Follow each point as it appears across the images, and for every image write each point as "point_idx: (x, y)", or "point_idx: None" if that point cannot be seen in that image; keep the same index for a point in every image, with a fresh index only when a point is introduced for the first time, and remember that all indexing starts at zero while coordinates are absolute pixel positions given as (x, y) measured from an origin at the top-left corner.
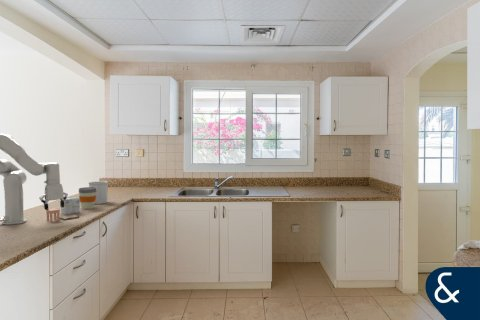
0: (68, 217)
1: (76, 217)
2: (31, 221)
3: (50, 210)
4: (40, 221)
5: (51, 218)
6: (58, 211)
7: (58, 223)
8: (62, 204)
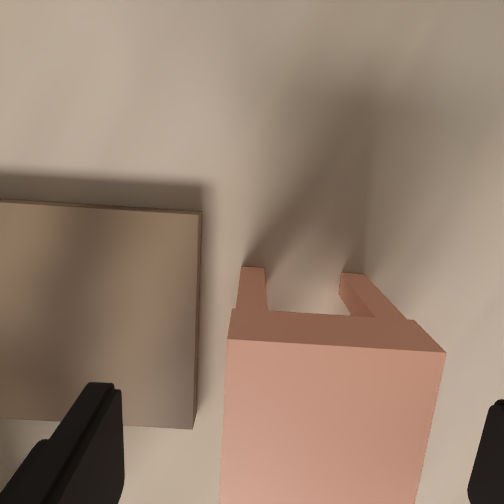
0: (109, 246)
1: (3, 201)
2: None
3: (420, 391)
4: None
5: (367, 289)
6: (258, 320)
7: (367, 79)
8: (89, 454)
